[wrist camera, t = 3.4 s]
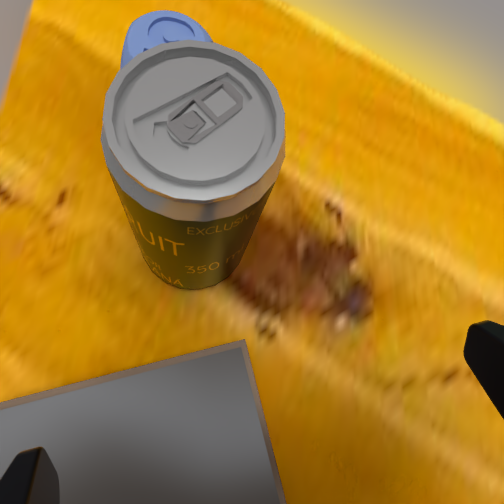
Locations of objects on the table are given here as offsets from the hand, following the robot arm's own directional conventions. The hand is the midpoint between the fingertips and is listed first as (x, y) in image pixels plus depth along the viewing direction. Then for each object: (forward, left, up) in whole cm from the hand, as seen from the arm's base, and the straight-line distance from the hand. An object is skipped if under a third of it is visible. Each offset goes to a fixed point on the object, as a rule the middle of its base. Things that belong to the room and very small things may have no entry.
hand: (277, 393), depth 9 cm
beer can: (+2, -7, -14) cm, 15 cm away
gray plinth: (+3, +5, -13) cm, 15 cm away
